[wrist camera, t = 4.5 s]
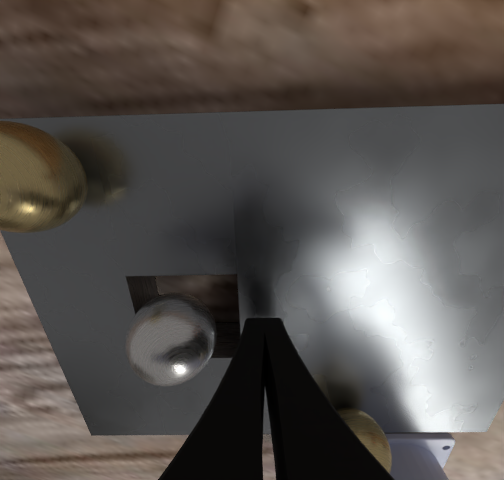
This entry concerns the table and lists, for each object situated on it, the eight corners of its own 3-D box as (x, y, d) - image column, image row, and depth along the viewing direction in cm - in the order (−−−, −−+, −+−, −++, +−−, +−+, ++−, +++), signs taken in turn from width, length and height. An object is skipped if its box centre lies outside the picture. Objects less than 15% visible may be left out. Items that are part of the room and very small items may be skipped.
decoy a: (368, 430, 13) (398, 506, 11) (313, 431, 13) (329, 507, 11) (377, 393, 12) (413, 467, 9) (317, 394, 12) (336, 468, 9)
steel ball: (210, 328, 12) (234, 380, 9) (139, 357, 11) (141, 427, 8) (196, 269, 11) (219, 307, 8) (115, 294, 10) (107, 349, 7)
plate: (452, 390, 16) (486, 431, 13) (114, 394, 16) (91, 435, 14) (570, 108, 9) (666, 99, 7) (19, 125, 10) (-49, 120, 8)
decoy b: (116, 214, 9) (52, 248, 6) (35, 216, 9) (-66, 251, 6) (93, 123, 8) (1, 112, 5) (0, 126, 8) (-144, 116, 5)
